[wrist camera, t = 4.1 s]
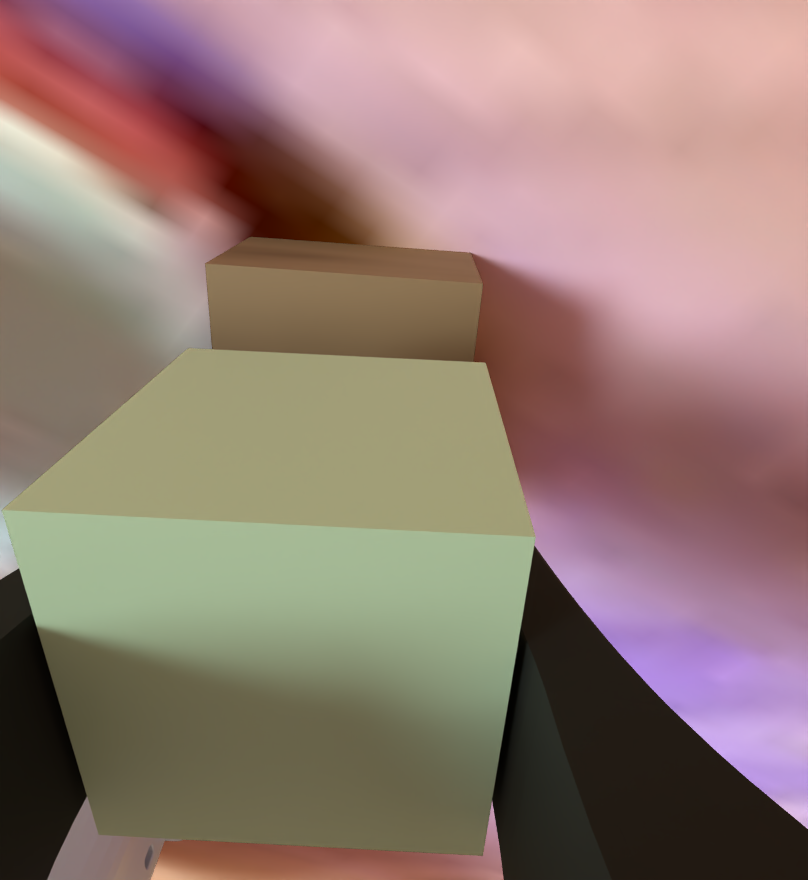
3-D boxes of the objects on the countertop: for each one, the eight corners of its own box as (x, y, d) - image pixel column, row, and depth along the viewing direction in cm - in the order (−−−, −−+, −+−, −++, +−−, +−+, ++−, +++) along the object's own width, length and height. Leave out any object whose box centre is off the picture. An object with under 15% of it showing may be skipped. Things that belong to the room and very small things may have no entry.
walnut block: (448, 445, 19) (454, 515, 16) (261, 431, 19) (224, 499, 16) (470, 251, 17) (482, 283, 13) (252, 235, 17) (205, 263, 13)
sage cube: (485, 362, 10) (535, 536, 6) (460, 596, 12) (482, 855, 8) (188, 348, 10) (1, 510, 6) (216, 583, 12) (99, 834, 8)
